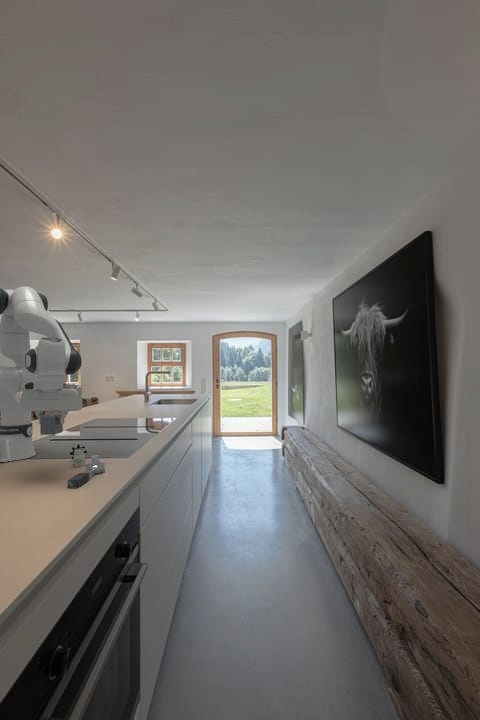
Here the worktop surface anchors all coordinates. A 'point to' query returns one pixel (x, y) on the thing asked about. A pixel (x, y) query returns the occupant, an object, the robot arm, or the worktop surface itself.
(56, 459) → the worktop surface
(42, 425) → the plain grey cube
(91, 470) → the ratchet
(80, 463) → the valve
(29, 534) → the worktop surface
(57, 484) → the worktop surface
